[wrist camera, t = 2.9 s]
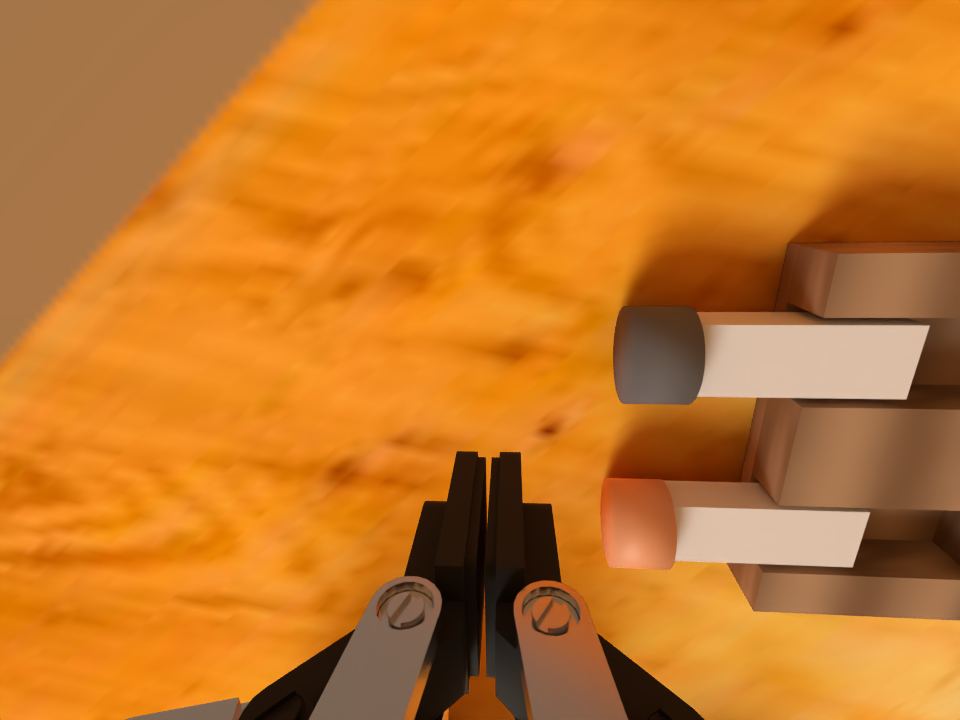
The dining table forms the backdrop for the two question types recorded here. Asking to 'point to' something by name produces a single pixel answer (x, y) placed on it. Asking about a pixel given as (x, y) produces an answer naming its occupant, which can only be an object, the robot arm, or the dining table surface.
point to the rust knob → (720, 526)
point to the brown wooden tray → (869, 441)
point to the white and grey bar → (761, 355)
